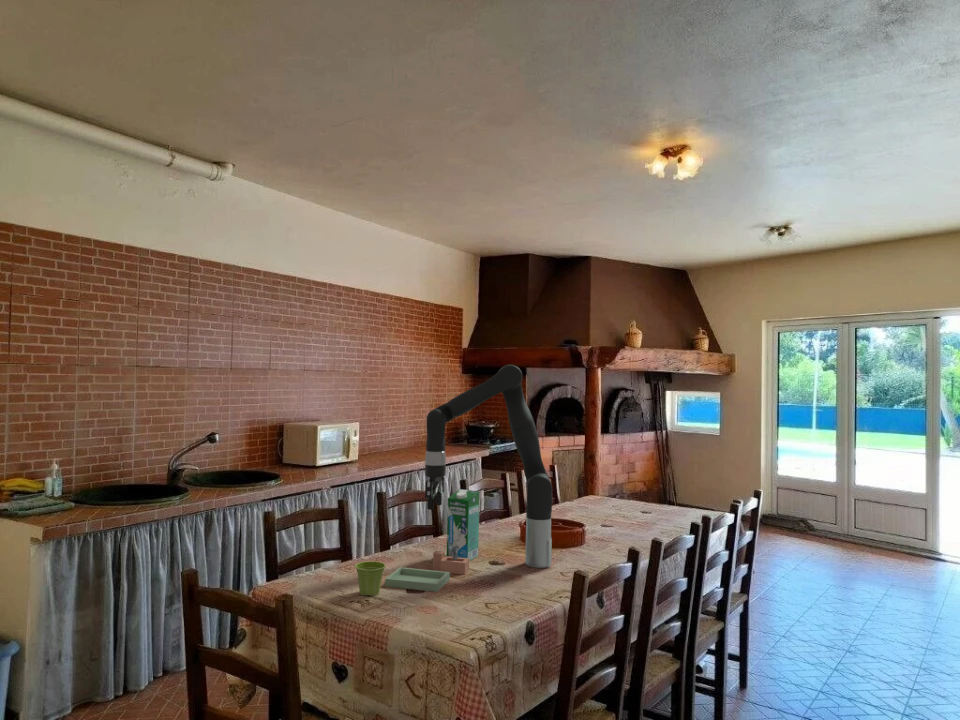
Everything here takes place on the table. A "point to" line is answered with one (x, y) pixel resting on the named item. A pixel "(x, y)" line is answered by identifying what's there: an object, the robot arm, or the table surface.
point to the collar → (450, 563)
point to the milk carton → (463, 523)
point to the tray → (417, 579)
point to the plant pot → (370, 577)
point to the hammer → (455, 552)
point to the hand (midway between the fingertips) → (434, 507)
